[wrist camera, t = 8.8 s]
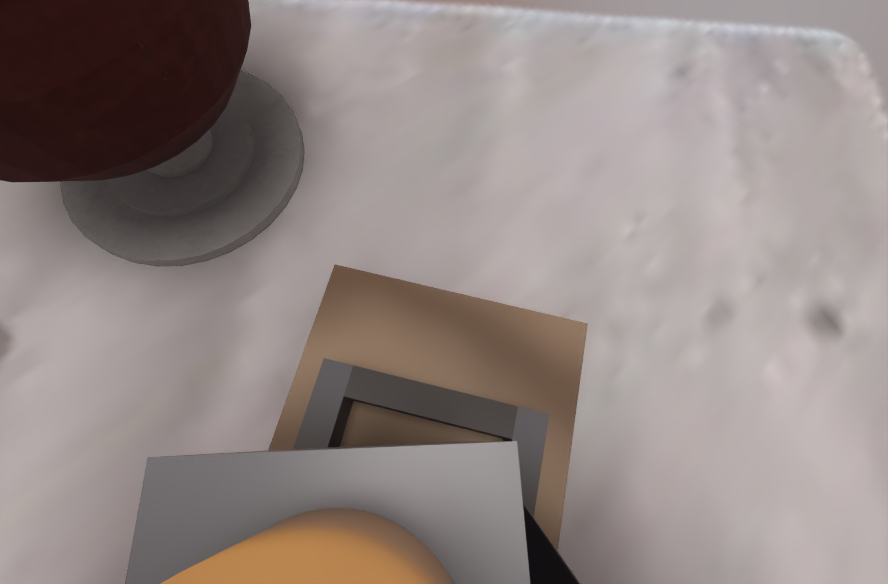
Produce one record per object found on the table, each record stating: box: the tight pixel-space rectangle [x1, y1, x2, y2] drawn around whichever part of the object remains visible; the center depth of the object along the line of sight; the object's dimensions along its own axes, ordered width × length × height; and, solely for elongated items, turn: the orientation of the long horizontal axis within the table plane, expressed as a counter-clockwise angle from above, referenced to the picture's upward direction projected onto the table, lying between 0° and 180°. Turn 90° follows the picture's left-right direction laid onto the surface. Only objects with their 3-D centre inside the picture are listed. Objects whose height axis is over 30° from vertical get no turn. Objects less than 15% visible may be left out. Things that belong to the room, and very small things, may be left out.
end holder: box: [268, 265, 587, 550], centre depth 16 cm, size 18×12×3 cm, turn 166°
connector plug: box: [125, 441, 530, 584], centre depth 9 cm, size 4×4×14 cm
